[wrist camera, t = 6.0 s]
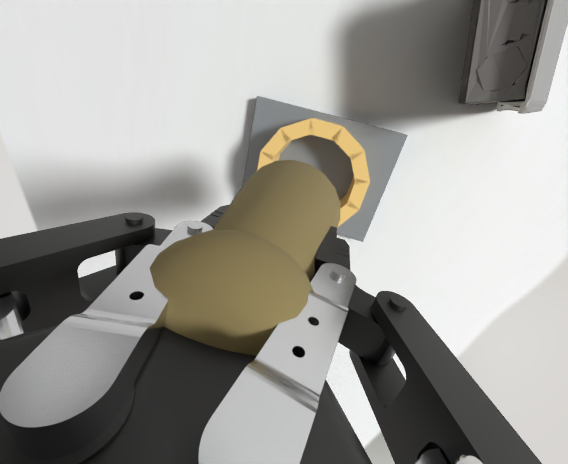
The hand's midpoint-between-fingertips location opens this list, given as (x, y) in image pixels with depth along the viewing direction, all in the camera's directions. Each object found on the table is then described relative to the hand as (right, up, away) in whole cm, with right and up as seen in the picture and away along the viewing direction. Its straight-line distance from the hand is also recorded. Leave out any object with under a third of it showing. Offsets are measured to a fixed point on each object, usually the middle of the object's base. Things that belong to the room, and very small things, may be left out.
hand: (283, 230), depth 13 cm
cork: (0, +1, +3) cm, 3 cm away
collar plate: (+3, +6, +14) cm, 16 cm away
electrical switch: (+16, +14, +8) cm, 23 cm away
